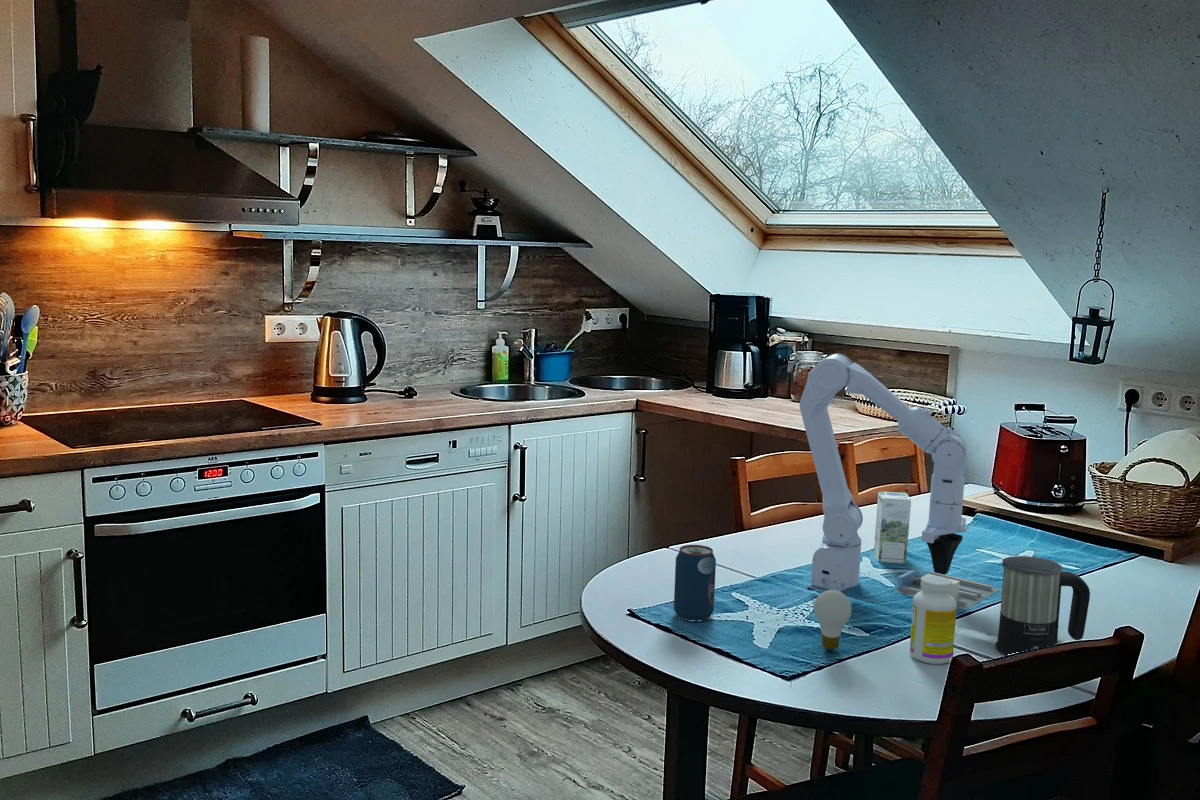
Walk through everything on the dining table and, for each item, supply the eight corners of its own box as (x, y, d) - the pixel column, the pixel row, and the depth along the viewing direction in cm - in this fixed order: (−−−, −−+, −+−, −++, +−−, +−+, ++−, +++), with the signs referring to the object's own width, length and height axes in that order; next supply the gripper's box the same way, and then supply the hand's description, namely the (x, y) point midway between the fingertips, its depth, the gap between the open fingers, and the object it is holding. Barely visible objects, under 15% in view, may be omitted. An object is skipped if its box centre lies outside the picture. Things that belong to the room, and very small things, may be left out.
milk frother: (1017, 664, 170) (1026, 574, 168) (959, 629, 185) (966, 545, 183) (1093, 657, 174) (1102, 569, 172) (1030, 623, 189) (1038, 541, 187)
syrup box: (901, 559, 224) (906, 491, 222) (906, 568, 218) (911, 498, 216) (873, 558, 225) (877, 490, 222) (877, 566, 219) (882, 497, 217)
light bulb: (843, 643, 177) (847, 585, 175) (852, 657, 171) (856, 597, 169) (807, 643, 177) (811, 584, 175) (815, 657, 171) (819, 596, 169)
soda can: (718, 622, 185) (721, 554, 183) (679, 624, 184) (682, 555, 182) (706, 608, 192) (709, 543, 190) (668, 610, 190) (671, 544, 189)
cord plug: (951, 600, 196) (953, 584, 196) (910, 590, 202) (911, 574, 201) (958, 596, 198) (959, 581, 198) (917, 586, 204) (918, 571, 203)
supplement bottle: (961, 661, 171) (968, 583, 169) (931, 668, 167) (938, 589, 166) (929, 646, 176) (935, 571, 175) (900, 653, 173) (905, 576, 171)
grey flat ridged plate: (965, 615, 192) (966, 596, 191) (892, 596, 201) (893, 578, 200) (1000, 594, 204) (1001, 576, 203) (929, 577, 213) (930, 560, 212)
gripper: (950, 512, 189) (945, 586, 191) (983, 498, 200) (977, 569, 202) (912, 504, 193) (907, 577, 195) (947, 491, 204) (941, 560, 206)
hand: (940, 572), depth 199 cm, fingers closed
